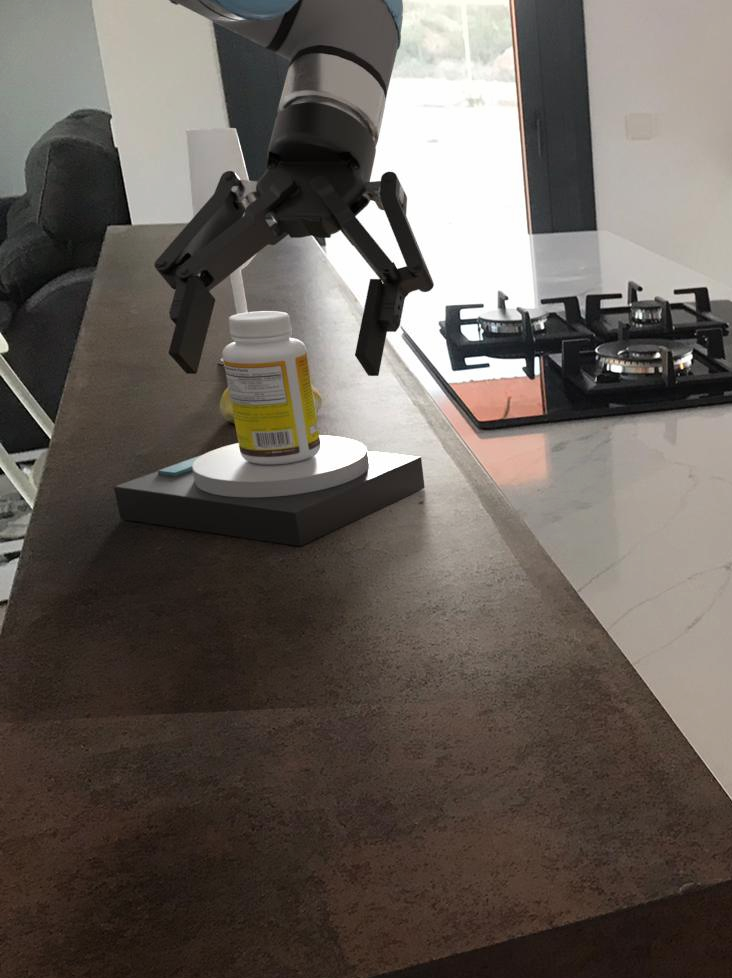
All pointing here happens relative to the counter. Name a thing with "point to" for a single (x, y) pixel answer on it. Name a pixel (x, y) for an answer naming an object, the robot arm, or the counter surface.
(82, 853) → the counter surface
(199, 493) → the scale
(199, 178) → the champagne flute
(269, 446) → the supplement bottle
